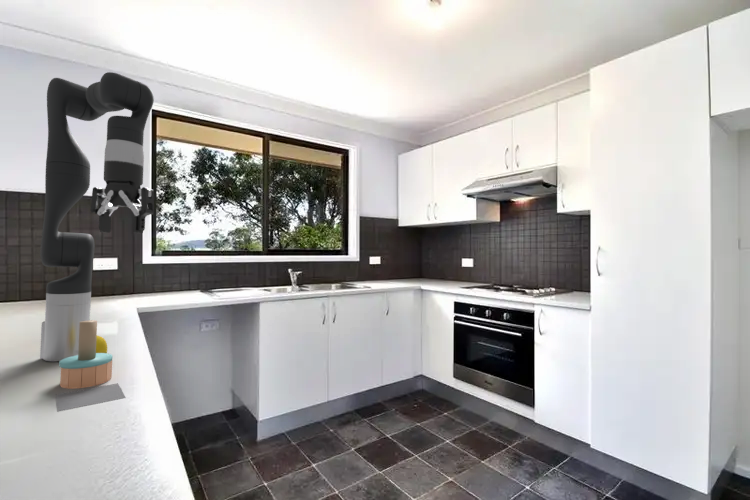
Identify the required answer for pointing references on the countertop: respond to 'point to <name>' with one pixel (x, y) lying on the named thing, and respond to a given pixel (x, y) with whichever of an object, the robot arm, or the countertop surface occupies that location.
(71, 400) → the mat
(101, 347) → the lemon
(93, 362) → the lid
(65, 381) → the bowl
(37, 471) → the countertop surface
